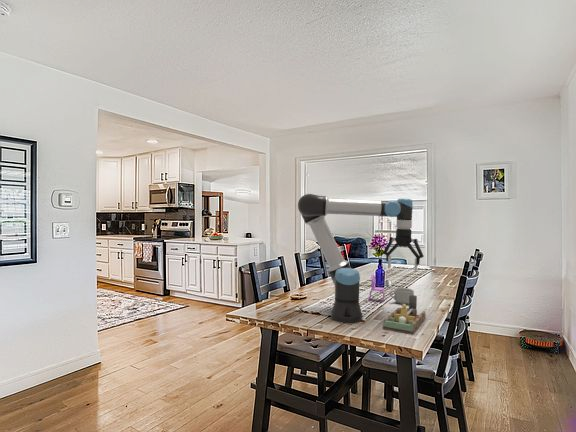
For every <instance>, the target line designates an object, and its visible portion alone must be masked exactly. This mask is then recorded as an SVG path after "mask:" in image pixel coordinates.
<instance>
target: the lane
mask: <svg viewBox="0 0 576 432" xmlns="http://www.w3.org/2000/svg"><path fill="white" fill-rule="evenodd" d="M401 308H402V307H397V308H396V309H394V311H393V312H391V314H389V315H388V316H387V317H386V318H384V321H390V317H392V318H394V313H395V314H401ZM407 308H408V311H409V307H407ZM408 311H407V312H408ZM417 312H418V309H417V308H416V309H412V314H409V315H408V316H414V322H413V323H412V324H411V326H412V325H413V331H407V330H402V329H396V328H390V327H385V326H383V325H382V330H386V331H387V330H388V331H392V332H398V333H404V334H410V335H414V334H415V333H416V331H417V330H418V329H419V327H420V326H421V325H422V324H423V323H424V322H425V320H426V314H427V313H426V311H425V310H422V311H421V312H420V314H418V313H417ZM395 322H398V323H399V321H395ZM405 324H409V323H407V322H406V323H405Z"/></svg>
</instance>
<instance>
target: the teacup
mask: <svg viewBox="0 0 576 432" xmlns="http://www.w3.org/2000/svg"><path fill="white" fill-rule="evenodd" d="M388 293H389V296H390V297H391V298H393V300H394V301H396V302H397V303H398V304H400V305H403V304H406V306H407V305H409V295H414V293H415V290H413V289H412V288H407V287H395V288H394V289H391V290H389V292H388ZM392 293H393V294H394V295H393V294H392Z"/></svg>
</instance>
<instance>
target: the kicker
mask: <svg viewBox="0 0 576 432" xmlns="http://www.w3.org/2000/svg"><path fill="white" fill-rule="evenodd" d="M417 300H418V296H417V295H409V304H408V307H407V305H406V304H401V307H400V308H401V314H395V313H394V318H395V321H398V319H399V317H401V316H404V317H405V318H406V322H407V323H409V320H411V321H414V316H408V315H409V314H412V309H417V305H418V303H417ZM408 308H409V311H408ZM407 311H408V312H407Z"/></svg>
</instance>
